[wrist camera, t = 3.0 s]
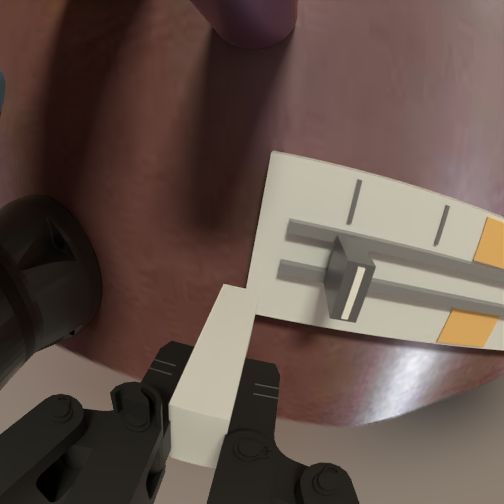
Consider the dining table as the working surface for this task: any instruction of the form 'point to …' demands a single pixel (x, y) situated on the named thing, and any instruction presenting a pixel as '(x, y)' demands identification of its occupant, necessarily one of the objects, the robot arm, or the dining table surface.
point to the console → (379, 254)
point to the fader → (348, 278)
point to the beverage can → (250, 20)
